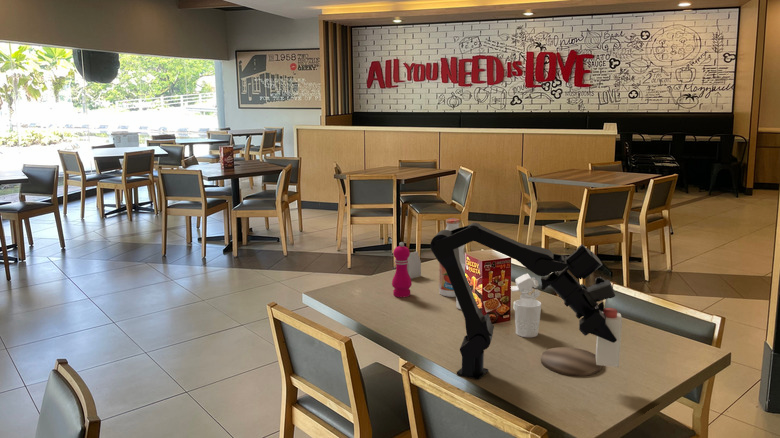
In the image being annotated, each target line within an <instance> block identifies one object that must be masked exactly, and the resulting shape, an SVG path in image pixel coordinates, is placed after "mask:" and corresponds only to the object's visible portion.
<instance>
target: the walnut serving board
mask: <svg viewBox="0 0 780 438" xmlns="http://www.w3.org/2000/svg"><path fill="white" fill-rule="evenodd" d="M540 363H541V364H542V366H544V367H545V368H546V369H548V370H549V371H551V372H555V373H558V374H560V375H565V376H566V375H567V376H574V377H584V376H591V375H595V374H597V373H599V372H600V371H601V370H602V365H596V353H594V352H592V351H589V350H585V349H581V348H576V347H570V346H569V347H567V346H564V347H563V346H561V347H559V346H558V347H552V348H547V349H546V350H544V351H543V352H542V353H541V354H540Z"/></svg>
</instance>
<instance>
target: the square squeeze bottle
mask: <svg viewBox="0 0 780 438" xmlns="http://www.w3.org/2000/svg"><path fill="white" fill-rule="evenodd" d="M602 313H603V314H606V324H607V326H608V327H609V329H610V330H611V332H612V333H613V334H614V336H615V338H616V339H617V341H616V342H614V343H613V342H610V341H608V340H606V339H603V338H601V337H598V336H596V342H595V344H596V345H595V355H596V365H602V366H605V367H613V368H620V357H621V356H620V355H621V343H622V329H623V325H622V324H623V319H622V314H621V313H619V312H618V309H616V308H613V307H604V310H603V312H602Z"/></svg>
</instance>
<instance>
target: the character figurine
mask: <svg viewBox="0 0 780 438" xmlns="http://www.w3.org/2000/svg"><path fill="white" fill-rule="evenodd" d="M510 287H511V288H510V290H511V292H513V293H516V292H519V293H521V294H520V296H519V298H520V299H534V300H537V298H539V297H540V295H541V291H540V290H539V289H538V287H539V281H538V280H536V277H531V275H529V273H524V274H522V275H520V276H518V277H516V278H515V285H512V286H510ZM533 288H534V289H535V290H534V289H533ZM533 291H534V292H533ZM515 301H516V300H514V301H513V310H514V311H515Z"/></svg>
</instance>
